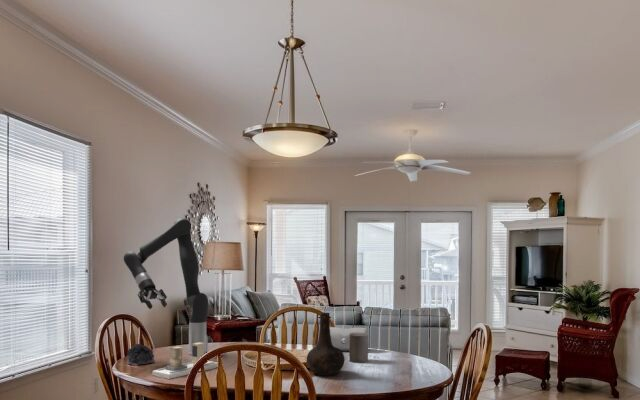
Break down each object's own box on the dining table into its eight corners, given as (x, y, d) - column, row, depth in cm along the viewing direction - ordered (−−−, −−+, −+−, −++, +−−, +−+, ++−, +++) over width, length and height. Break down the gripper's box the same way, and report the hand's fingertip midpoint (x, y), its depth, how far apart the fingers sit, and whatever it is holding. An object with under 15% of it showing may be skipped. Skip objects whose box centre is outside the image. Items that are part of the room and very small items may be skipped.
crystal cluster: (153, 366, 289) (155, 346, 290) (125, 365, 285) (127, 345, 287) (153, 362, 301) (155, 343, 303) (126, 362, 298) (128, 342, 299)
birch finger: (177, 367, 273) (177, 346, 274) (182, 368, 271) (182, 347, 271) (169, 369, 269) (170, 347, 270) (174, 370, 267) (174, 348, 268)
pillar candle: (346, 362, 293) (346, 332, 294) (352, 358, 302) (352, 329, 303) (364, 363, 289) (364, 333, 290) (370, 359, 298) (370, 330, 299)
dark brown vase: (333, 380, 257) (333, 316, 258) (299, 375, 265) (299, 314, 267) (351, 371, 272) (350, 311, 274) (318, 367, 281) (318, 309, 283)
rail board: (202, 363, 290) (203, 339, 291) (218, 367, 283) (219, 342, 284) (152, 375, 267) (152, 348, 267) (168, 379, 259) (169, 352, 260)
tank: (321, 353, 316) (321, 330, 317) (325, 347, 332) (325, 325, 332) (366, 354, 312) (366, 331, 313) (368, 348, 328) (368, 326, 328)
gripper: (136, 279, 291) (149, 303, 283) (159, 277, 302) (173, 300, 295) (129, 289, 294) (143, 313, 286) (153, 287, 305) (166, 310, 298)
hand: (158, 307), depth 291 cm, fingers open, 8 cm apart
